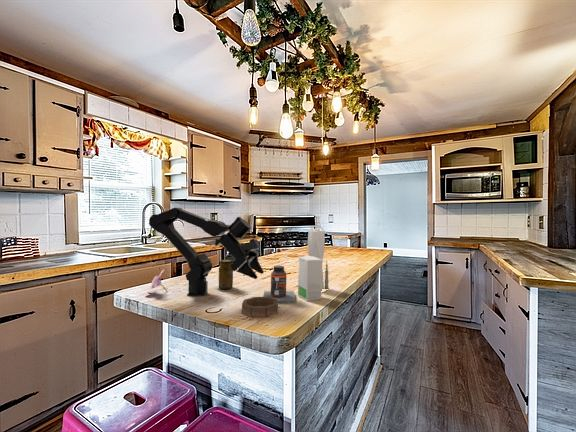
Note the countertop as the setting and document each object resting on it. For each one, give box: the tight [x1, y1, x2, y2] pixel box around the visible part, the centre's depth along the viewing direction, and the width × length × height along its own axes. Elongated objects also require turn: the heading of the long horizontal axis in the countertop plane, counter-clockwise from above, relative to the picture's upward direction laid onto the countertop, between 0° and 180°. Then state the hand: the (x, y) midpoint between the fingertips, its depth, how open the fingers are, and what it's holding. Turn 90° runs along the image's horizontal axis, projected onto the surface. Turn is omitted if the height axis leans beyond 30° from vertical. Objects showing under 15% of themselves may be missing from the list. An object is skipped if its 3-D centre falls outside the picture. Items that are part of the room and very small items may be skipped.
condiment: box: [214, 259, 239, 292], centre depth 122 cm, size 7×8×12 cm
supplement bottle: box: [270, 265, 287, 297], centre depth 108 cm, size 6×6×11 cm
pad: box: [262, 290, 296, 304], centre depth 108 cm, size 12×12×1 cm
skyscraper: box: [307, 225, 330, 291], centre depth 120 cm, size 8×8×28 cm
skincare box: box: [297, 255, 323, 302], centre depth 109 cm, size 8×7×16 cm
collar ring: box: [241, 296, 279, 318], centre depth 94 cm, size 12×12×3 cm
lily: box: [144, 269, 168, 297], centre depth 114 cm, size 12×12×10 cm
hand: (260, 275), depth 109 cm, fingers open, 9 cm apart
